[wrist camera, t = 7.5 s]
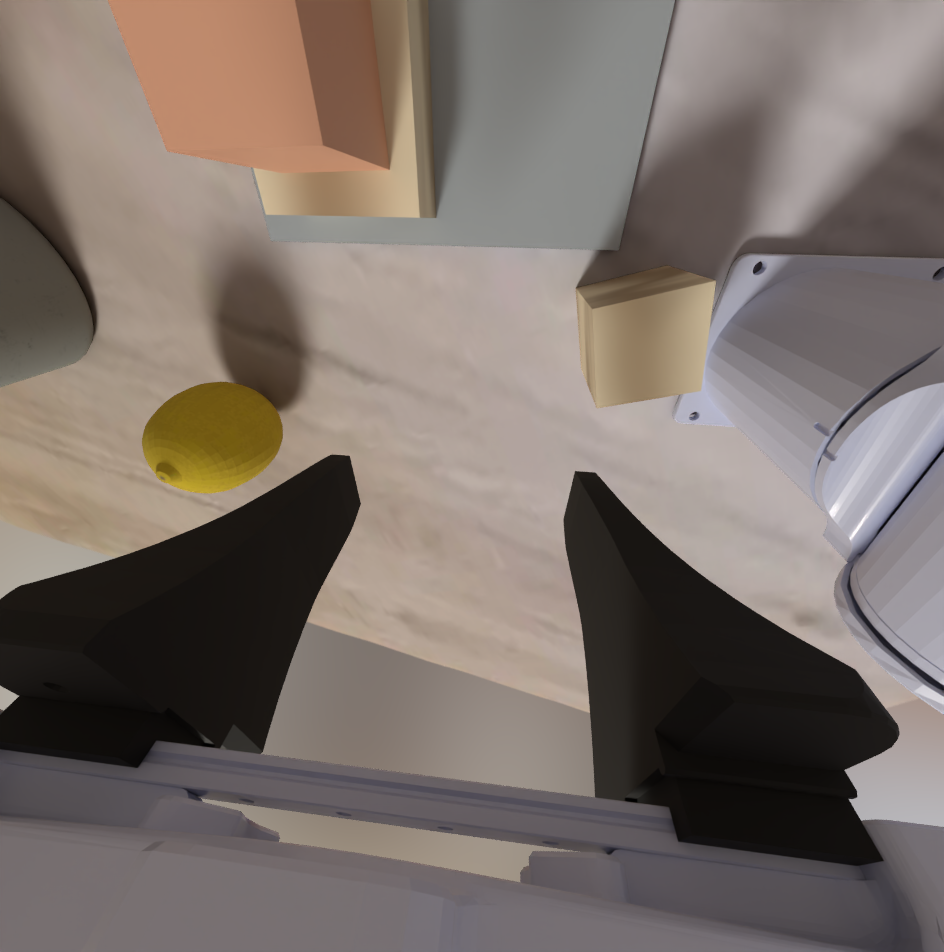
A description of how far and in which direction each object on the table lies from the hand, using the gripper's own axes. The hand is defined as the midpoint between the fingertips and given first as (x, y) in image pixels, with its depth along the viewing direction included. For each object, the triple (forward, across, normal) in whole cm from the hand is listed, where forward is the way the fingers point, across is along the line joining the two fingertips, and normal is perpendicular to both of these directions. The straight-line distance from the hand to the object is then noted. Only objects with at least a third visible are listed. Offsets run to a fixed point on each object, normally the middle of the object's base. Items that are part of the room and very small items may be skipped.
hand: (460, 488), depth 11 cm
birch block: (+10, -7, -3) cm, 13 cm away
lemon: (+11, +14, +3) cm, 18 cm away
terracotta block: (+7, +5, -10) cm, 13 cm away
